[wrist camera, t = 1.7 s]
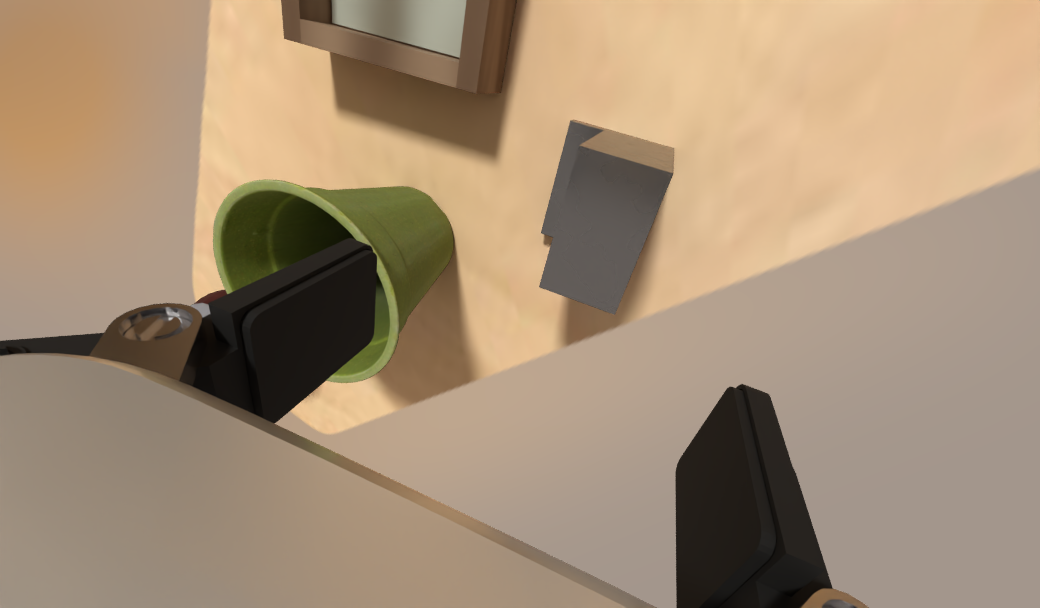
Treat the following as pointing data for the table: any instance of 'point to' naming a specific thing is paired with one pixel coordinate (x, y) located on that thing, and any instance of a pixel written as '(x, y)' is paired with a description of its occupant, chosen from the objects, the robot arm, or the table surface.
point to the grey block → (602, 212)
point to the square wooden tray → (412, 36)
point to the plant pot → (325, 222)
